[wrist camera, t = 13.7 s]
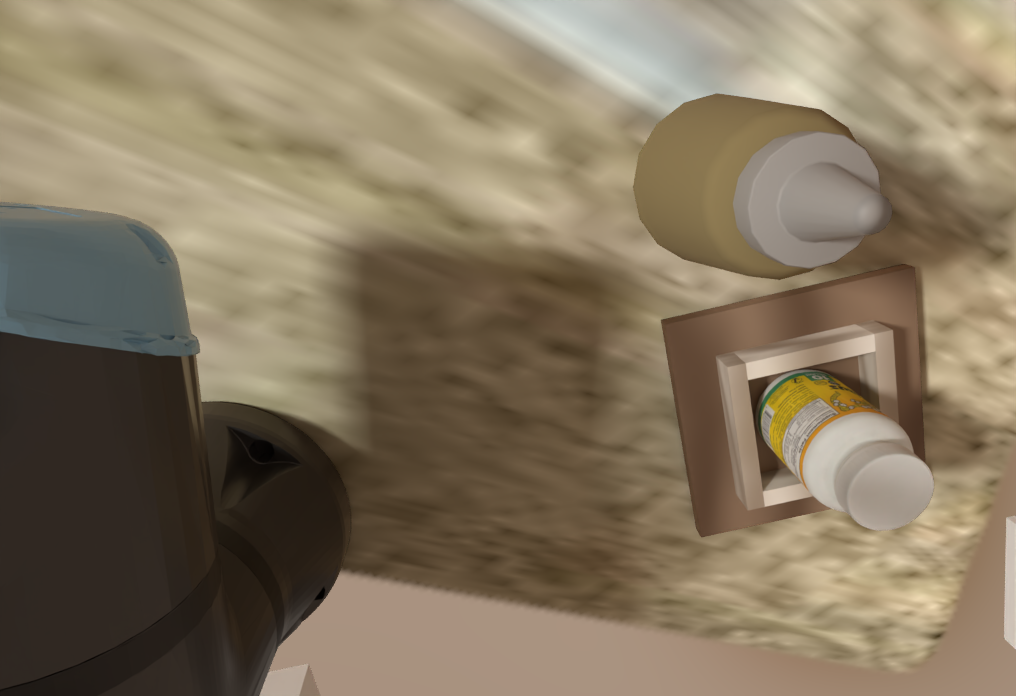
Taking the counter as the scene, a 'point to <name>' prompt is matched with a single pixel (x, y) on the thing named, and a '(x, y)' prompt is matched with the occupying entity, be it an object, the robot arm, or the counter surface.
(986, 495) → the counter surface
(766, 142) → the squeeze bottle
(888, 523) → the supplement bottle
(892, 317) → the collar holder
